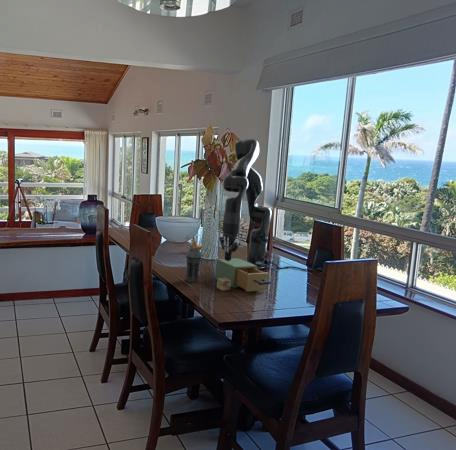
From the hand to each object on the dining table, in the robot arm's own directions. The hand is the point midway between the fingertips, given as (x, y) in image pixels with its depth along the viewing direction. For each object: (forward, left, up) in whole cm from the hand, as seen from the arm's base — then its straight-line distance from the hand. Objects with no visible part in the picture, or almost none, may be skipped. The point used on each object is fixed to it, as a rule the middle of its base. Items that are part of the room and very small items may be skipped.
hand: (227, 260), depth 202 cm
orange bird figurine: (-27, -66, -13) cm, 72 cm away
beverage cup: (+8, -15, -13) cm, 21 cm away
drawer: (-12, +4, -12) cm, 17 cm away
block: (0, -1, -13) cm, 13 cm away
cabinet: (-12, -9, -13) cm, 20 cm away
